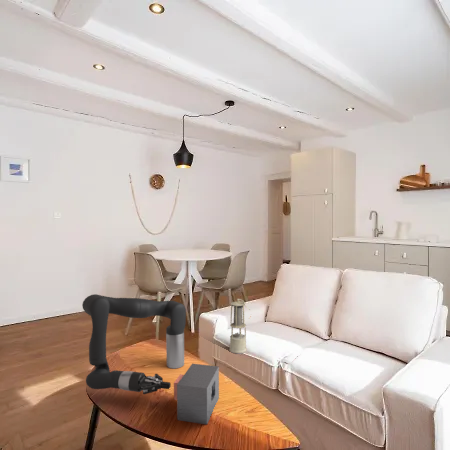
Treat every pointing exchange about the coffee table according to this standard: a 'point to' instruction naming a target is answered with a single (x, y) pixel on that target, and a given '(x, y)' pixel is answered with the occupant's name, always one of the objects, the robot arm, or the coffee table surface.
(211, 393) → the plug
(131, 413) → the coffee table surface
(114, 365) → the coffee table surface
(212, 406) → the block
